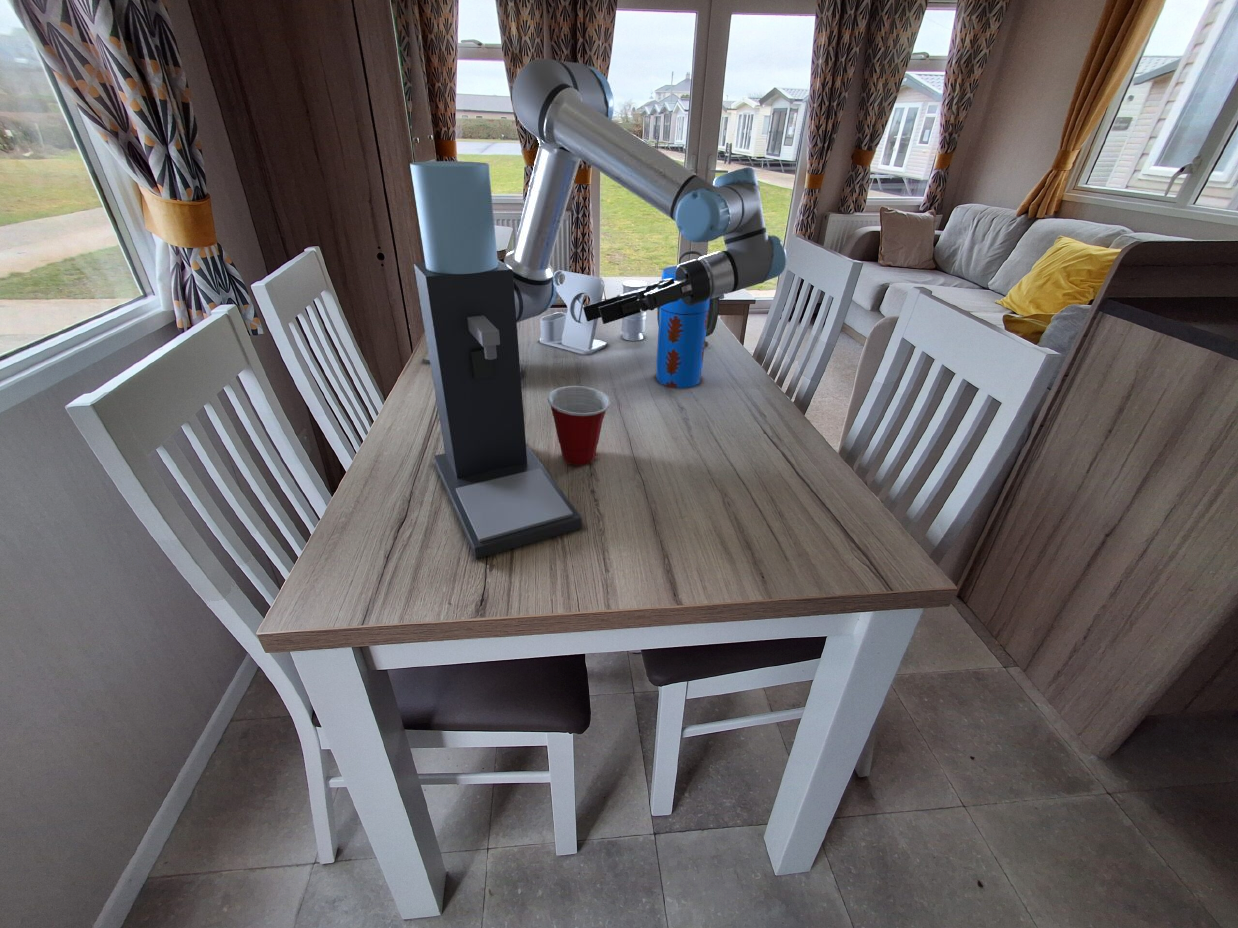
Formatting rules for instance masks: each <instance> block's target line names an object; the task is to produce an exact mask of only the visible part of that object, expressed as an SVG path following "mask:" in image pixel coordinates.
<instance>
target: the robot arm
mask: <svg viewBox="0 0 1238 928" xmlns="http://www.w3.org/2000/svg"><path fill="white" fill-rule="evenodd" d="M610 85H611V84H610V83H609V80H608V79H607V78H606V77H605V75H604V74H603V73H602V72H601V71H600V70H598V69H597V68H595V67H593V66H591V65H588V64H585V63H582V62H572V61H563V60H555V59H552V58H543V57H541V58H536V59H534V60H531V61H529V62H528V63H527V64H525V65H524V66H523V67H522V68H521V69H520V70H519V71H518V73H517V75H516V77H515V78H514V82H513V85H512V90H511V97H512V98H511V100H512V106H513V109H514V113H515V115H516V118H517V119H518V121H519V122H520V124H521V125H522V126H523V127H524V129H526V130H527V131H528V132H529V133H530V134H531V135H533V136H534V137H535V138H536V139H537V140H538V143H539V145H538V149H537V153H536V157H535V160H534V166H533V170H532V174H531V177H530V181H529V185H528V190H527V194H526V197H525V202H524V206H523V210H522V215H521V219H520V222H519V225H518V226H519V227H518V231H517V234H516V238H515V243H514V247H513V250H512V251H510V252H508V253H506V254H505V256H504V258H503V263H504V264H505V265H507V266H508V267H510V268H511V269H512V270H513V282H514V295H515V308H516V321H517V323H520V322H523V321H526V320H528V319H532V318H535V317H538V316H541V314H543V313H545V312H546V311H548V310H549V309H550V308H551V307H552V306H553V303H555V299H556V296H557V291H556V285H555V284H554V281H555V279H554V277H553V275H554V273H555V272H554V268H553V267H552V265H551V261H552V257H553V254H554V251H555V246H556V244H557V239H558V237H559V233H560V231H561V227H562V224H563V220H564V216H565V213H566V210H567V207H568V203H569V199H570V197H571V193H572V189H573V187H574V183H575V179H576V176H577V174H578V170H579V167H580V163H581V160H582V161H583V162H585V163H586V164H588V165H589V166H591V167H592V168H594V169H596V171H598V172H600V173H602V174H603V175H604V176H606V177H607V178H609V179H611V181H614V182H615V183H617V184H618V185H619V186H621V187H623V188H624V189H625V190H627V191H628V192H630V193H632V194H633V195H634V196H636V197H638V198H639V199H640V200H642V201H644V202H645V203H647V204H648V205H650V206H651V207H653V208H655V209H656V210H657V211H659V212H660V213H662V214H663V215H665V216H666V217H668V218H670V219H671V220H672V221H674V222H675V225H676V228H677V229H678V231H679V233H680V235H681V236H682V237H683V238H684V239H686V240H687V241H689V242H693V243H708V242H713V241H715V240H717V239H719V238H720V237H723V238H722V239H723V243H724V245H725V249H724V250H720V251H716V252H712V253H710V254H707V255H702V256H703V257H700V256H699V258H696V259H692V260H688V261H686V262H685V261H684V262H681V264H679V263H678V265H676V266H677V268H676V273H675V275H676V279H675V281H674V279H673V278H670V279H664V280H659V281H658V282H655V283H651V284H649V285H647V286H646V288H643V289H639V290H636V291H632V292H629V293H625V294H623V293H622V294H620V293H619V294H617V295H615V296H613V297H610V298H607V299H604V300H603V299H602V301H600V302H597V303H594V304H591V305H589V304H588V305H584V306H585V307H583V310H584V313H585V316H586V320H587V322H588V321H591V320H594V319H597V318H598V319H600V318H601V321H602V324H603V325H606V324H609V323H612V322H615V321H618V320H622V318H625V317H628V316H631V315H634V314H637V313H640V312H641V311H640V309H641V310H642V311H645V312H647V311H651V312H652V311H655V309H657V308H658V307H660V306H663V305H665V304H668V303H671V302H675V301H678V299H682V301H683V302H684V303H685V304H686V305H688V306H692V305H695V304H699V303H702V302H705V301H707V299H713V298H716V297H719V298H720V299H719V300H724V299H725V295H728V294H731V293H735V292H738V291H740V290H744V289H748V288H750V287H754V286H757V285H759V284H764V283H765V282H768V281H769V280H770V281H771V280H772V279H775V278H777V277H779V276H781V275H782V274H783V272H784V271H785V268H786V265H787V252H786V248H785V247H784V245H783V241H782V240H781V238H780V237H778V236H776V235H774V234H772V235H770V234H769V235H768V231H767V228H766V223H765V222H766V221H765V216H764V209H763V204H762V197H761V193H760V191H761V188H760V185H759V182H758V179H757V174H756V171H755V170H754V168H752V167H751V166H749V167H748V166H746V167H743V168H738V169H736V170H733V171H729V172H726V173H724V174H721V175H719V176H717V177H715V178H714V180H713V182H712V183H710V182H709V181H707V180H705V179H704V178H702V177H700V176H699V175H698V173H697V174H696V173H695V172H693V171H692V170H690V169H689V168H687V167H686V166H684V165H683V164H681V163H679V162H678V161H676V160H675V159H673V158H672V157H670V156H669V155H667V154H665V153H664V152H663V151H660V150H659V149H657V148H656V147H654V146H653V145H652V144H650V143H648V142H647V141H645V140H643V139H642V138H640V137H638V136H637V135H635V134H634V133H632V132H630V130H627V129H626V128H624V127H623V126H621V125H620V124H618V123H616V122H615V121H614V120H613V117H614V110H615V101H614V95H613V91H612V89H611V86H610ZM623 299H624V300H623ZM521 362H522V361H521V360H520V373H521V374H522V369H521V366H522V364H521ZM421 363H424V364H428V365H430V359H426V358H422V359H421Z"/></svg>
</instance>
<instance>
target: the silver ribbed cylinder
mask: <svg viewBox="0 0 1238 928" xmlns="http://www.w3.org/2000/svg"><path fill="white" fill-rule="evenodd" d="M621 285H622V294H625V293H629V292H632V291H636V290H639V289H643V288H646V287H647V286H648V283H647V282H646V281H642V280H636V279H635V280H634V279H633V280H625V281H622V283H621ZM623 300H624V299H623ZM640 311H641V312H640V313H637V314H634V315H631V316H628V317H625V318H621V327H620V330H621V332H623V335H622V339H624V340H627V341H636V342H637V341H640V340H641V341H642V340H643V339H644V336H643V333H645V331H646V321H645V320H646V319H647V316H646V315H647V311H642V310H641V309H640Z"/></svg>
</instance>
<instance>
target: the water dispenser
mask: <svg viewBox="0 0 1238 928" xmlns="http://www.w3.org/2000/svg"><path fill="white" fill-rule="evenodd" d="M409 166H410V172H411V179H412V185H413V191H414V200H415V205H416V211H417V218H418V224H419V230H420V237H421V245H422V251H423V257H424V262H416V263H415V262H414V263H413V267H414V273H415V279H416V285H417V292H418V298H419V304H420V309H421V310H420V311H421V315H422V322H423V329H424V335H425V339H426V345H427V352H428V358H429V359H428V360H430V364H429V365H430V370H431V371H430V372H431V376H432V380H433V381H432V382H433V390H434V395H435V401H436V406H437V412H438V419H439V424H440V431H441V436H442V443H443V449H444V453H441V454H435V455H433V461H434V466H435V468H436V470H437V473H438V475H439V478H440V480H441V482H442V484H443V487H444V489H445V491H446V493H447V496H448V498H449V500H450V503H451V505H452V507H453V510H454V512H455V514H456V516H457V519H458V521H459V524H460V526H461V528H462V531H463V532H464V535H465V537H466V540H467V542H468V544H469V547H470V549H471V551H472V554H473V556H474V558H475V559H476V560H479V559H482V558H486V557H489V556H492V555H496V554H499V553H502V552H506V551H509V550H513V549H517V548H520V547H523V546H526V545H530V544H533V543H538V542H541V541H543V540H547V539H551V538H554V537H557V536H561V535H565V534H567V533H572V532H575V531H579V530H581V529H582V528H583V527H582V524H583V522H582V521H583V519H582V517H581V515H580V514H579V512H578V511H577V510H576V508H575V507H574V505H573V504H572V503H571V502H570V500H569V499H568V498H567V496H566V495H565V494H564V493H563V491H562V490H561V488H560V487H559V486H558V484H557V483H556V481H555V480H554V479H553V478H552V476H551V475H550V473H549V472H548V471H547V470H546V468H545V466H543V464H542V462H541V461H540V460H539V458H538V457H537V456H536V455H535V454H534V452H533V451H532V449H531V447H529V445H528V444H527V440H526V439H527V438H526V427H525V425H526V424H525V414H524V403H523V402H524V401H523V400H524V399H523V390H522V389H523V388H522V376H521V375H522V372H521V373H520V361H521V359H520V347H519V336H518V322H517V321H516V308H515V295H514V282H513V270H512V269H511V268H510V267H508V266H507V265H505V264H504V262H502V261H501V260H499V258H498V251H497V238H496V227H495V218H494V217H495V216H494V206H493V194H492V193H493V192H492V184H491V172H490V164H489V163H488V162H480V161H462V160H461V161H457V160H456V161H455V160H453V161H452V160H447V161H446V160H437V161H435V160H434V161H433V160H432V161H431V160H430V161H429V160H428V161H416V162H410V163H409Z"/></svg>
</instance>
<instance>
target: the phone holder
mask: <svg viewBox="0 0 1238 928" xmlns="http://www.w3.org/2000/svg"><path fill="white" fill-rule="evenodd" d="M561 275H564V280H563V282H562V283H560V277H561ZM553 277H554V279H555V281H554V284H555V285H556V293H557V294H558V296H559V297H560V298H561V300H562V301H563V302H564V304H565V305H566V307H567V310H566V312H563V311H558V312H554V313H551V314H549V315H545V316H543V317H540V319H539V327H540V338H539V343H540V344H544V345H547V346H551V347H554V348H558V349H561V350H565V351H569V352H573V353H576V354H580V355H584V356H586V355H590V354H593V353H596V351H599V350H601V349H603V348H606V347H607V342H606V341H603V340H600V339H596V338H595V335H596V330H597V327H598V326H597V325H598V321H599V318H597V319H594V320H591V321H588V322H587V320H586V316H585V313H584V310H583V307H585V306H586V305H584V303H583V300H584V298H585V297H586V296H587V297H589V304H588V305H591V304H594V303H597V302H600V301H603V296H604V291H605V281H604V280H603V278H601V277H598V276H594V275H588V274H583V273H578V272H572V271H568V270H567V271H566V270H561V269H558V270H556V271H555V272H554V273H553Z"/></svg>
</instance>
